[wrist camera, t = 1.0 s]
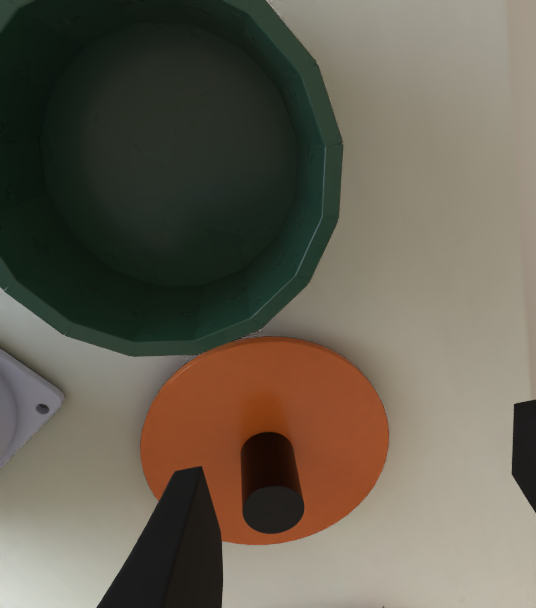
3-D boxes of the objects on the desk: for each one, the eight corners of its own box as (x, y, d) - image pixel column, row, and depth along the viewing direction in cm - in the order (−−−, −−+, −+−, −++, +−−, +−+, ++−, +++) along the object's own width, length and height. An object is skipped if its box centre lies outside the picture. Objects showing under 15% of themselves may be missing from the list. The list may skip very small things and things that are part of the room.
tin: (186, 340, 19) (170, 415, 14) (-27, 167, 16) (-142, 184, 11) (362, 166, 17) (417, 182, 12) (158, -70, 14) (118, -179, 9)
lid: (265, 559, 24) (272, 647, 20) (93, 445, 21) (60, 523, 17) (428, 430, 22) (473, 499, 18) (266, 278, 19) (276, 320, 14)
